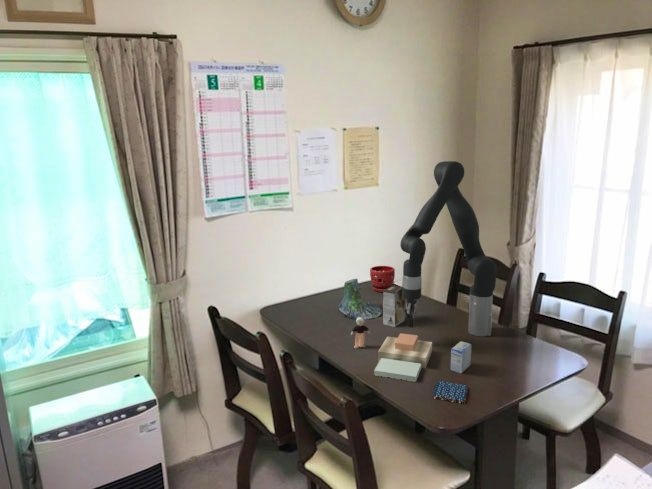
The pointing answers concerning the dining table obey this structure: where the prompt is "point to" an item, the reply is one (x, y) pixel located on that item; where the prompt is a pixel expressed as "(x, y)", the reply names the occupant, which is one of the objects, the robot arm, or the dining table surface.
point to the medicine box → (460, 357)
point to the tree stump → (357, 303)
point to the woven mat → (450, 392)
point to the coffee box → (393, 306)
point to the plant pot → (382, 277)
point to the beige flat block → (406, 352)
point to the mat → (398, 369)
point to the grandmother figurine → (360, 333)
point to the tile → (406, 342)
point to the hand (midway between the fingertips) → (410, 326)
